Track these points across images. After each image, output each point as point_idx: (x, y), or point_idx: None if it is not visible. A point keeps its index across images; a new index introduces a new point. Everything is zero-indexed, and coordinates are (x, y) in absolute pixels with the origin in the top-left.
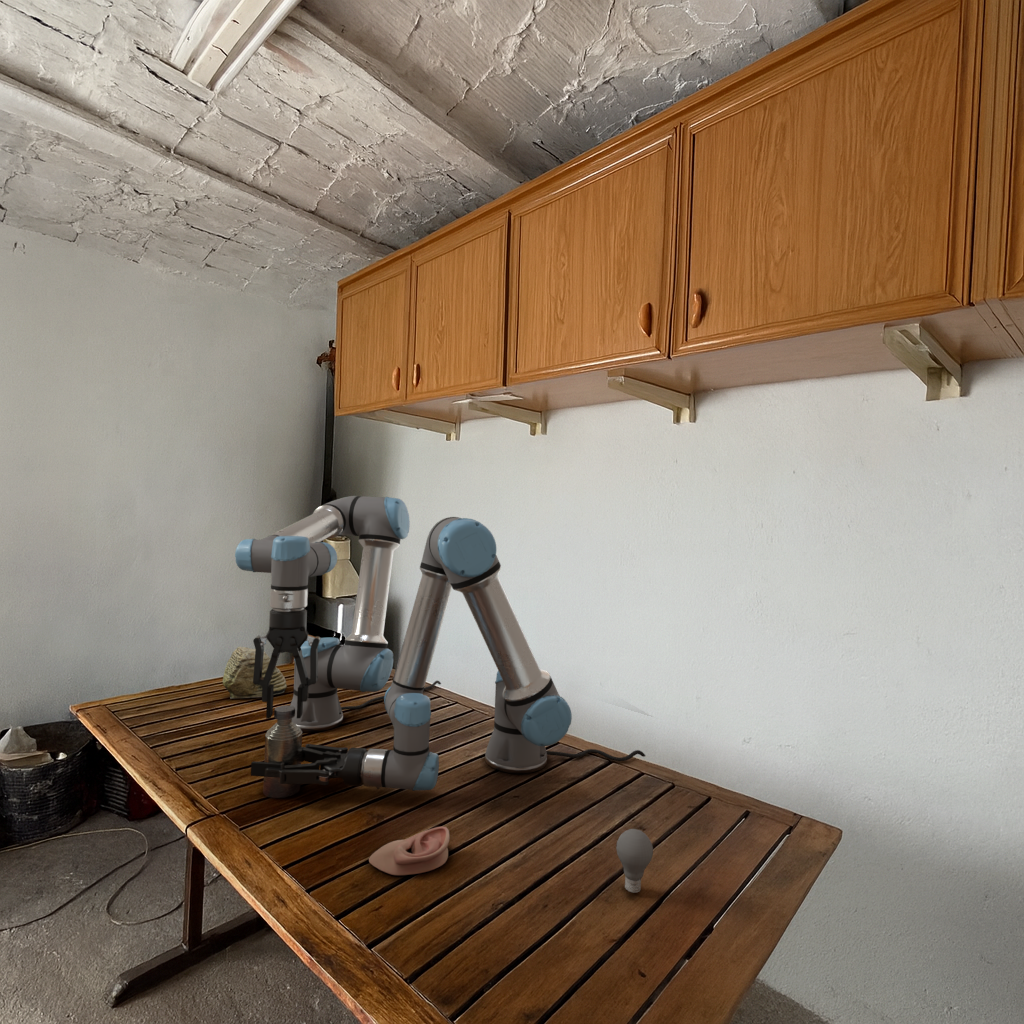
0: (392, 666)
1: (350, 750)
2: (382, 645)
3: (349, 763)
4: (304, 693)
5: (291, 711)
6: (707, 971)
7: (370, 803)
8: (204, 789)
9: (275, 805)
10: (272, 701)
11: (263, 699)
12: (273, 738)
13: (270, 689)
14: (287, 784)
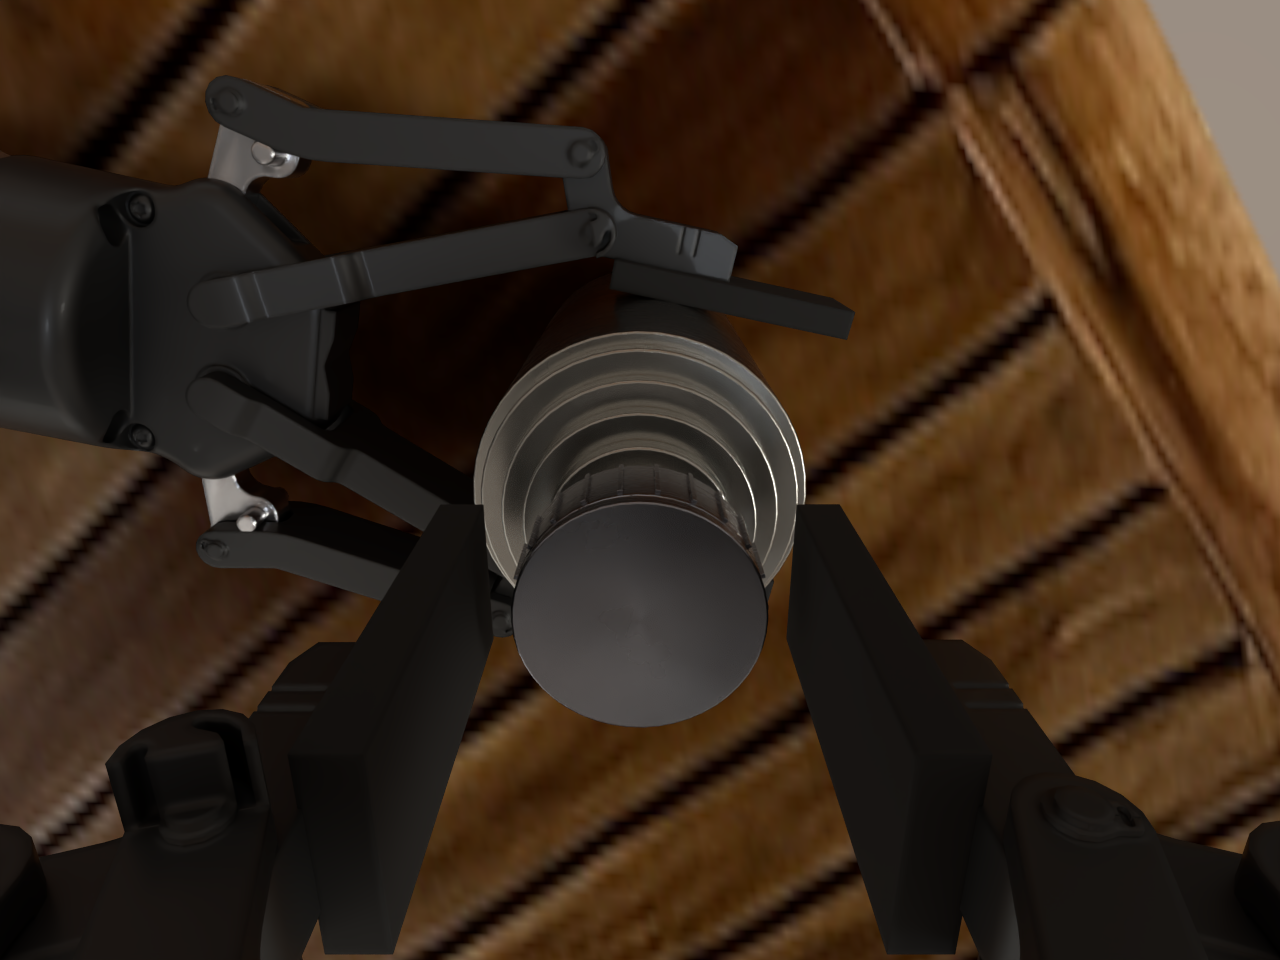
0: None
1: (31, 311)
2: None
3: (48, 194)
4: (297, 722)
5: (537, 539)
6: None
7: (70, 162)
8: (1070, 409)
9: (637, 176)
10: (823, 707)
11: (965, 662)
12: (712, 362)
13: (916, 733)
14: (587, 291)
